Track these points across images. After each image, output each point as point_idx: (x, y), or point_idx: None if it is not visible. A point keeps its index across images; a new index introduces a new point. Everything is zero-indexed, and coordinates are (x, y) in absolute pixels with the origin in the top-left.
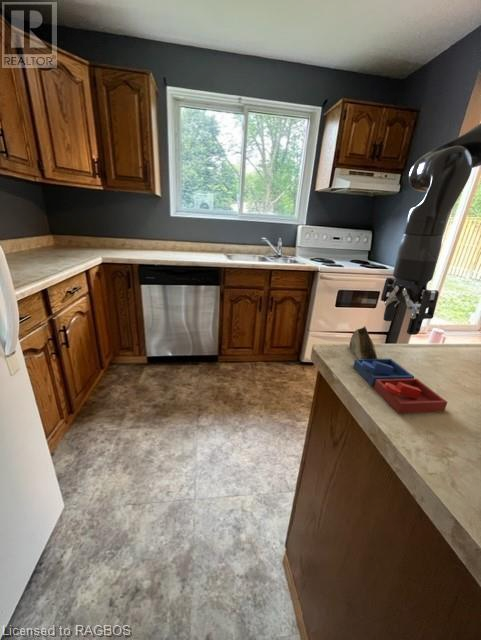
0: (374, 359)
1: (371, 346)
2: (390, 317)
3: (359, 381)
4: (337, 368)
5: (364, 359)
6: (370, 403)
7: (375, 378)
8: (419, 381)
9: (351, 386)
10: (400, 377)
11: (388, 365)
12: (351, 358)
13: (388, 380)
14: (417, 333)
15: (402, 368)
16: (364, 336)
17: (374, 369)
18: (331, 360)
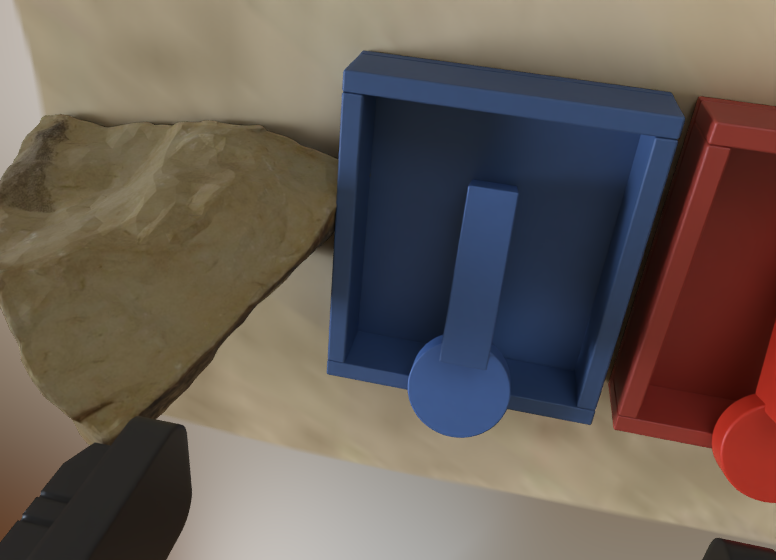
0: (343, 236)
1: (261, 300)
2: (160, 501)
3: None
4: (347, 429)
5: (337, 313)
6: (728, 494)
7: (593, 410)
8: (767, 143)
9: (551, 478)
10: (646, 240)
11: (480, 228)
12: None
13: (655, 364)
14: (773, 553)
15: (532, 110)
16: (180, 391)
17: (506, 367)
18: (244, 404)
